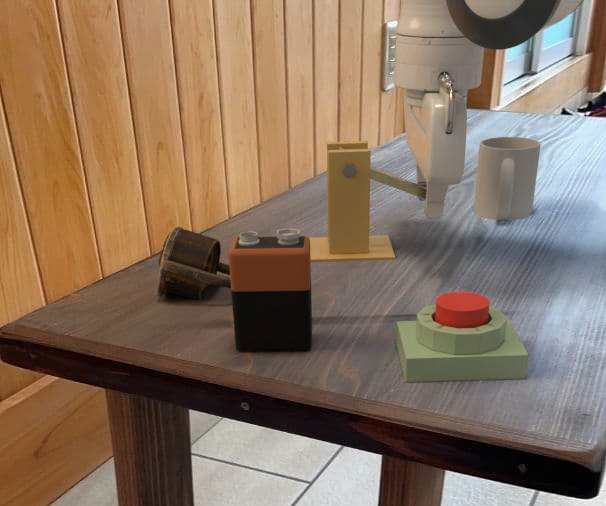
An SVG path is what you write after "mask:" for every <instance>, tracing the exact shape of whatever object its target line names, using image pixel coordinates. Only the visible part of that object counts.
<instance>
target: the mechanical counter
mask: <svg viewBox="0 0 606 506" xmlns="http://www.w3.org/2000/svg"><path fill="white" fill-rule="evenodd" d="M221 248H222V247H221V242H220V240H219V239H217V238H213V237H210V236H207V235H204V234H201V233H198V232H195V231H191V230H189V229H185V228H183V227H181V226H176V227H174V228H173V229H172V230H171V231H170V232H169V233H168V235H167V236H166V238H165V241H163V245H162V249H161V251H160V254H159V259H158V265H159V273H158V278H157V285H156V290H155V294H154V295H155V296H157V297H162V296H164V295H166V294H168V293H170V294H173V295H177V296H180V297H184V298H188V299H194V300H199V301H201V300H203V298H202V292H203V291H204V290H205V288H207V287H210V286H218V287H223V288H227V289H231V280H230V277H228V276H230V267H229V264H227V263H223V262H221V261H220V260H221V253H222V249H221ZM218 273H220V274H218ZM221 274H225V275H226V276H224V275H221ZM227 275H228V276H227Z"/></svg>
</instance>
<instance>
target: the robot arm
mask: <svg viewBox="0 0 606 506" xmlns="http://www.w3.org/2000/svg"><path fill="white" fill-rule="evenodd" d="M583 2H584V0H401V4H400V13H399V17H398V20H397V24H396V28H395V29H396V30H395V31H396V32H395V49H394V50H395V52H394V74H393V75H394V76H393V84H394V86H395V87H397V88H398V89H399V88H400V89H401V90H402V89H403V118H404V119H403V120H404V134H405V141H406V145H407V147H408V149H409V150H410V153H411V154H412V156H413V159H414V160H415V176H416V184H419V185H422V186H425V184H426V185H427V193H426V199H424V198H421V197H418V196H416V197H417V199H418V201H422V202H424V214H425V215H424V216H425V217H426V219H428V220H440V219H442V218H443V215H444V207H445V206H444V204H445V200H446V196H447V193H448V189H449V185H459V184H461V182H462V180H463V176H464V172H465V162H466V146H467V129H468V128H467V126H468V108H467V107H468V106H467V102H468V92H469V90H472V89H476V88H479V87H480V85H481V84H482V74H483V67H484V66H483V65H484V64H483V63H484V55H485V49H488V50H493V51H494V50H496V51H497V50H498V51H501V50H508V49H512V48H515V47H518V46H521V45H522V44H524V43H526V42H527V41H529V40H530V39H531V38H533V37H534V36H535V35H536V34H538V33H540V32H542V31H544V30H547V29H549V28H550V27H552V26H554V25H557V24H558V23H560V22H561V21H563V20H565V19H566V18H568V17H569V16H570V15H571V14H573V13H574V12H575V11H576V9H578V8H579V7H580V5H581V4H582V3H583Z"/></svg>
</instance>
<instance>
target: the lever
mask: <svg viewBox="0 0 606 506" xmlns="http://www.w3.org/2000/svg"><path fill="white" fill-rule="evenodd" d="M338 150H347V149H345V148H343V147H339V149H338ZM370 180H372V181H375V182H378V183H381V184H383V185H386V186H389V187H391V188H395V189H396V190H400V191H402V192H405V193H407V194H410V195H412V196H415V197H417V196H418V197H421V198H424V199H426V193H427V185H426V184H425V186H422V185H419V184H417V182H413V181H411V180H409V179H405V178H403V177H400V176H398V175H395V174H392V173H389V172H388V171H387V172H386V171H384V170H381V169H378V168H376V167H373V166H371V165H370ZM418 197H417V198H418Z"/></svg>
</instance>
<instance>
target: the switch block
mask: <svg viewBox="0 0 606 506" xmlns="http://www.w3.org/2000/svg"><path fill="white" fill-rule="evenodd" d="M435 311H436V303H434V304H430V305H427V306H426V305H425V307H424V308H422V309H421V310H420V311H419V312H417V314H416V320H398V321H396V329H395V346H396V351H397V354H398V358H399V361H400V367H401V370H402V374H403V378H404V382H405V383H420V382H421V383H423V382H457V381H459V382H460V381H487V380H489V381H491V380H520V379H521V380H523V379H524V380H525V379H526V377H527V369H528V361H529V356H530V355H529V353H528V351H527V349H526V347H525V346H524V344H523V342H522V340H521V338H520V337H519V335H518V332H517V331H516V329H515V327H514V325H513V324H512V322H511V320H510V318H509V317H506V316H505V314H504V312H503V311H502V310H501V309H498V308H496V307H494V306H491V305H489V314H488V323H487V325H483V326H480V327H476V328H460V329H459V328H453V327H447V326H442V325H440V324H439V323H437V322H435Z"/></svg>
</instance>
